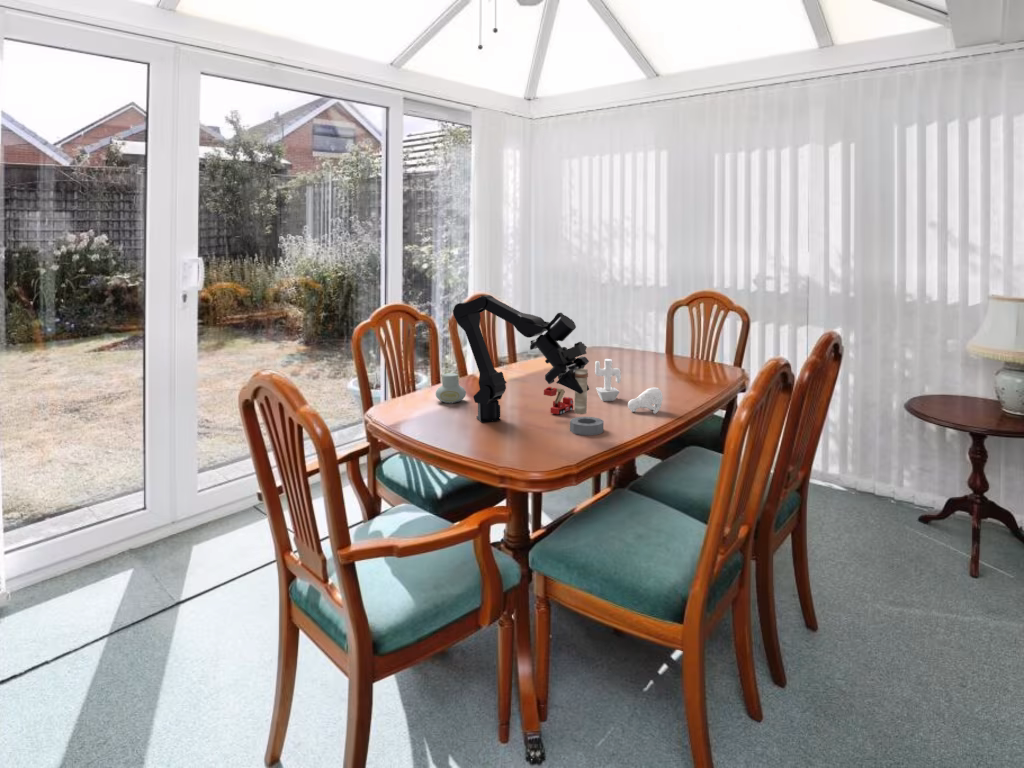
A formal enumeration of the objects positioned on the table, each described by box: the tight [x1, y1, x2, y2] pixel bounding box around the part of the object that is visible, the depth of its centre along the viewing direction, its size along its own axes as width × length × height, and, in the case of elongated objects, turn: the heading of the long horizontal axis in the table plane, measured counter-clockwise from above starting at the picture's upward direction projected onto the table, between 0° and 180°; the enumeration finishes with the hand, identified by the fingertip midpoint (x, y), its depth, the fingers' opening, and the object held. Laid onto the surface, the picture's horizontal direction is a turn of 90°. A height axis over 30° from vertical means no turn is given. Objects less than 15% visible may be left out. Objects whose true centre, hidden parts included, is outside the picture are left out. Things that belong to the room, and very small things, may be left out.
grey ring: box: [569, 416, 604, 436], centre depth 197 cm, size 10×10×3 cm
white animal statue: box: [627, 386, 663, 414], centre depth 218 cm, size 6×8×12 cm
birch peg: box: [573, 368, 589, 415], centre depth 190 cm, size 4×4×13 cm
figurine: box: [594, 358, 622, 402], centre depth 235 cm, size 7×9×15 cm
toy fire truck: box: [543, 386, 574, 415], centre depth 217 cm, size 3×14×10 cm, turn 141°
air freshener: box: [435, 372, 467, 404], centre depth 233 cm, size 11×8×10 cm
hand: (585, 391), depth 189 cm, fingers closed on birch peg, 4 cm apart
